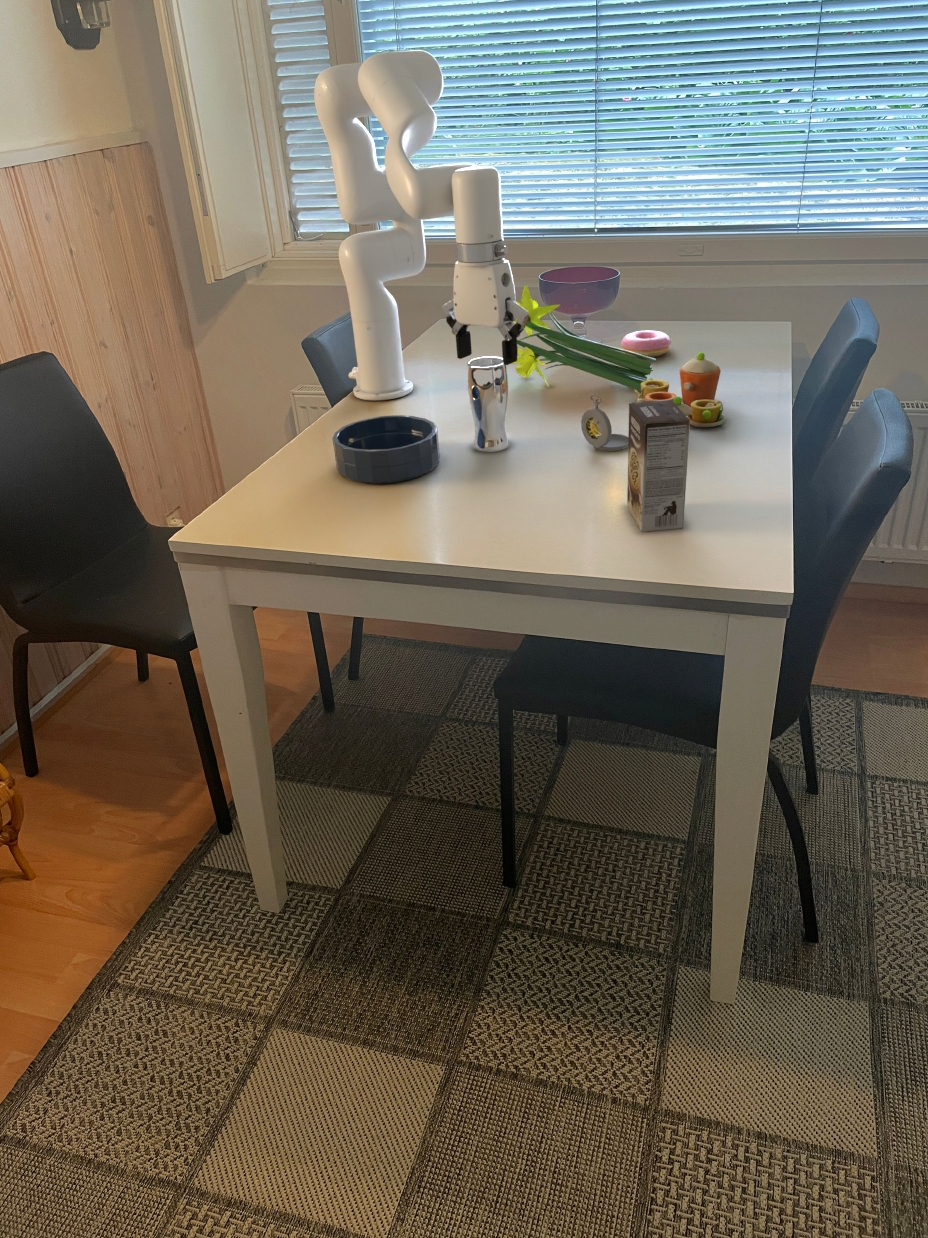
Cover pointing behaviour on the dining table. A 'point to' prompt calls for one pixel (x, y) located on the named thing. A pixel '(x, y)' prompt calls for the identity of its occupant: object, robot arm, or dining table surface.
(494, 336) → the dining table surface
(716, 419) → the toy tea set
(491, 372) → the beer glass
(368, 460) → the bowl
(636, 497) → the coffee box
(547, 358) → the daffodil flowers
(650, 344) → the doughnut
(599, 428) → the pocket watch
